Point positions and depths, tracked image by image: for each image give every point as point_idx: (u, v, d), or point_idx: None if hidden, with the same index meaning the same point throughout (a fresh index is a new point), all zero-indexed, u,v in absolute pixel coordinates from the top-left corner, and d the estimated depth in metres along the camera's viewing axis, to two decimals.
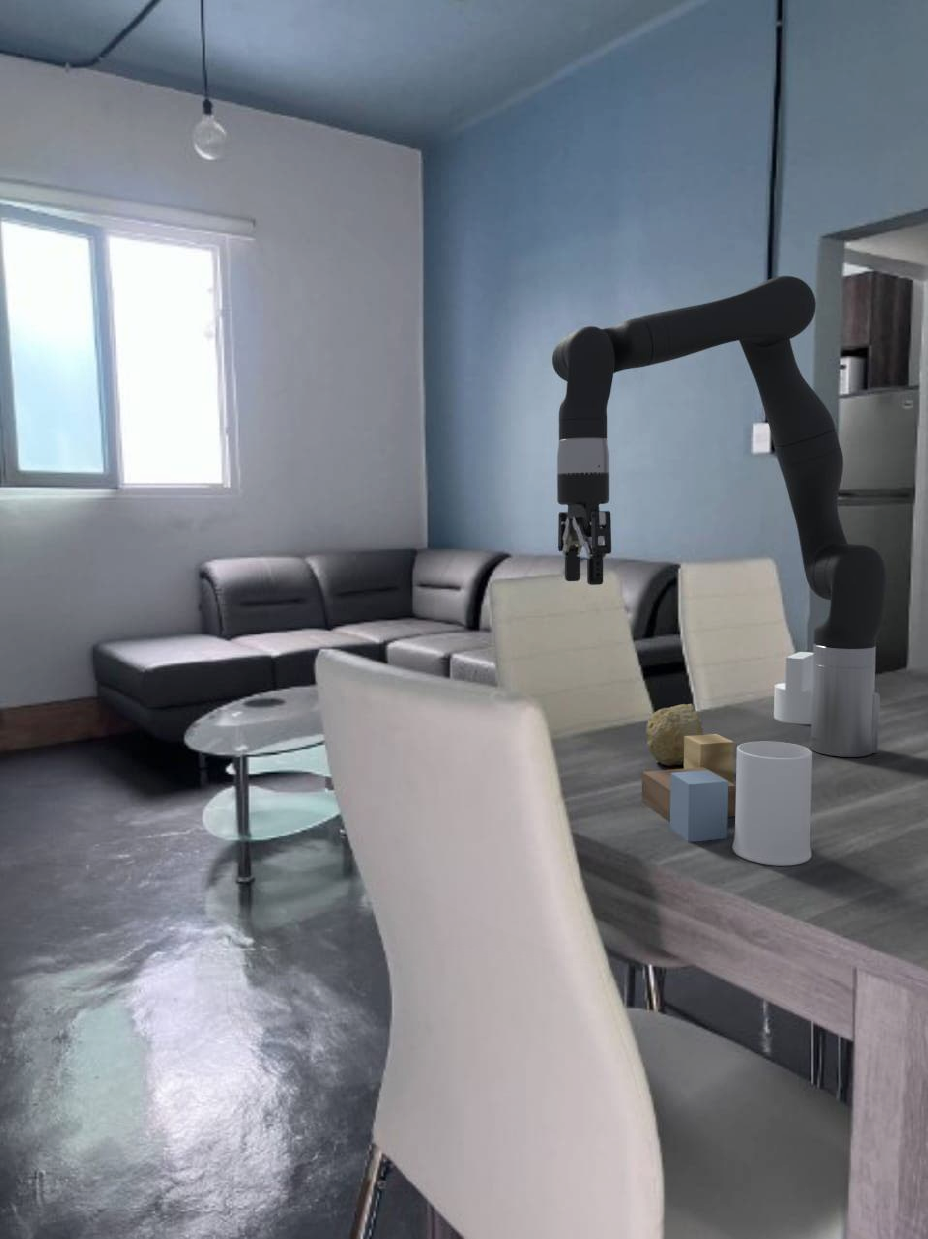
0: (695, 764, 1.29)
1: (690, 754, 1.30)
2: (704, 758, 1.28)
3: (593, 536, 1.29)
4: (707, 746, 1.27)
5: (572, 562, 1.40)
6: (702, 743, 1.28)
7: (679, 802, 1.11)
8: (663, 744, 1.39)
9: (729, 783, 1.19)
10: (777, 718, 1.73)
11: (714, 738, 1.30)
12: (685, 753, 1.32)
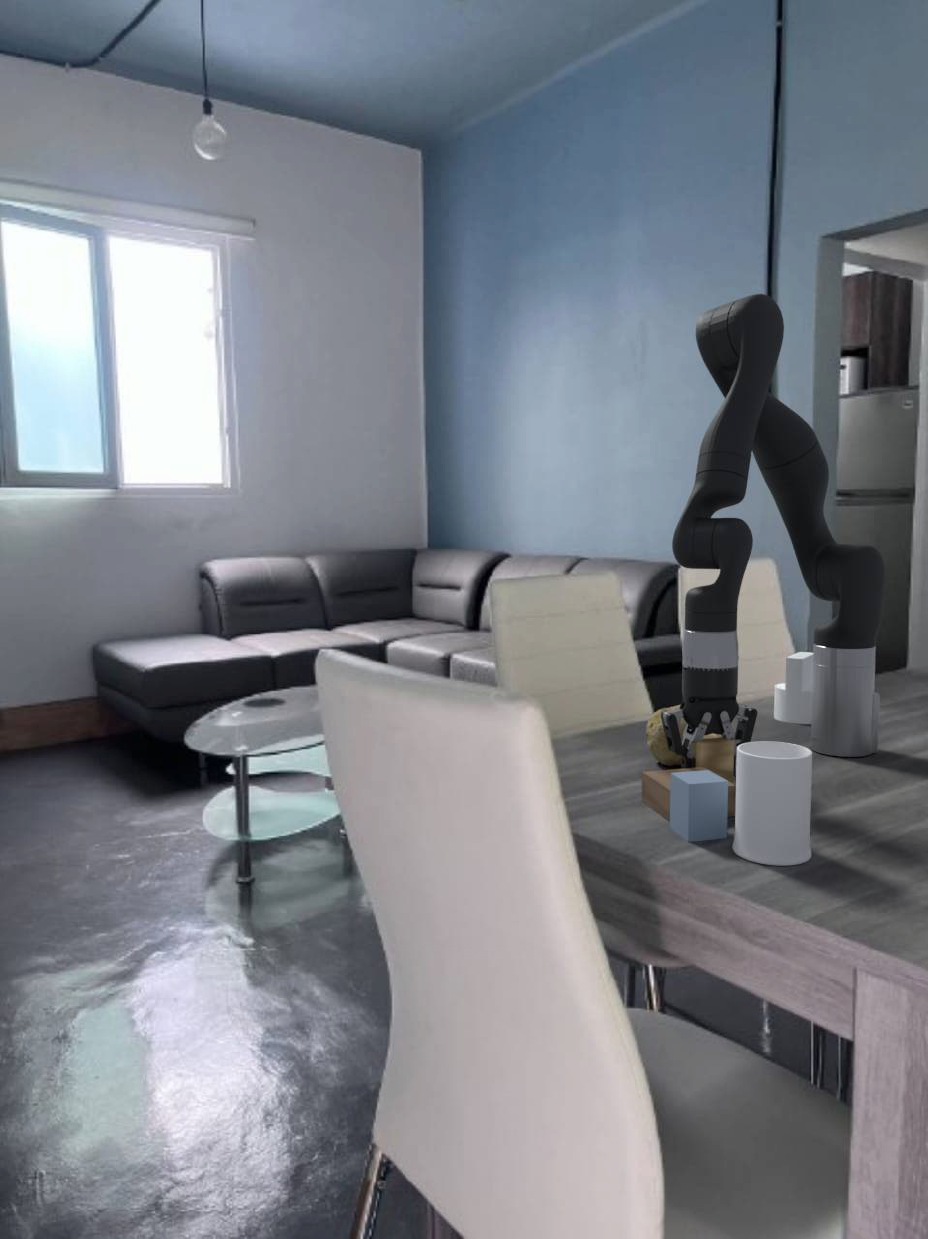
0: None
1: None
2: (704, 758, 1.28)
3: (749, 733, 1.30)
4: (707, 745, 1.27)
5: None
6: (702, 743, 1.28)
7: (679, 802, 1.11)
8: (663, 744, 1.39)
9: (729, 783, 1.19)
10: (777, 718, 1.73)
11: (714, 738, 1.30)
12: None
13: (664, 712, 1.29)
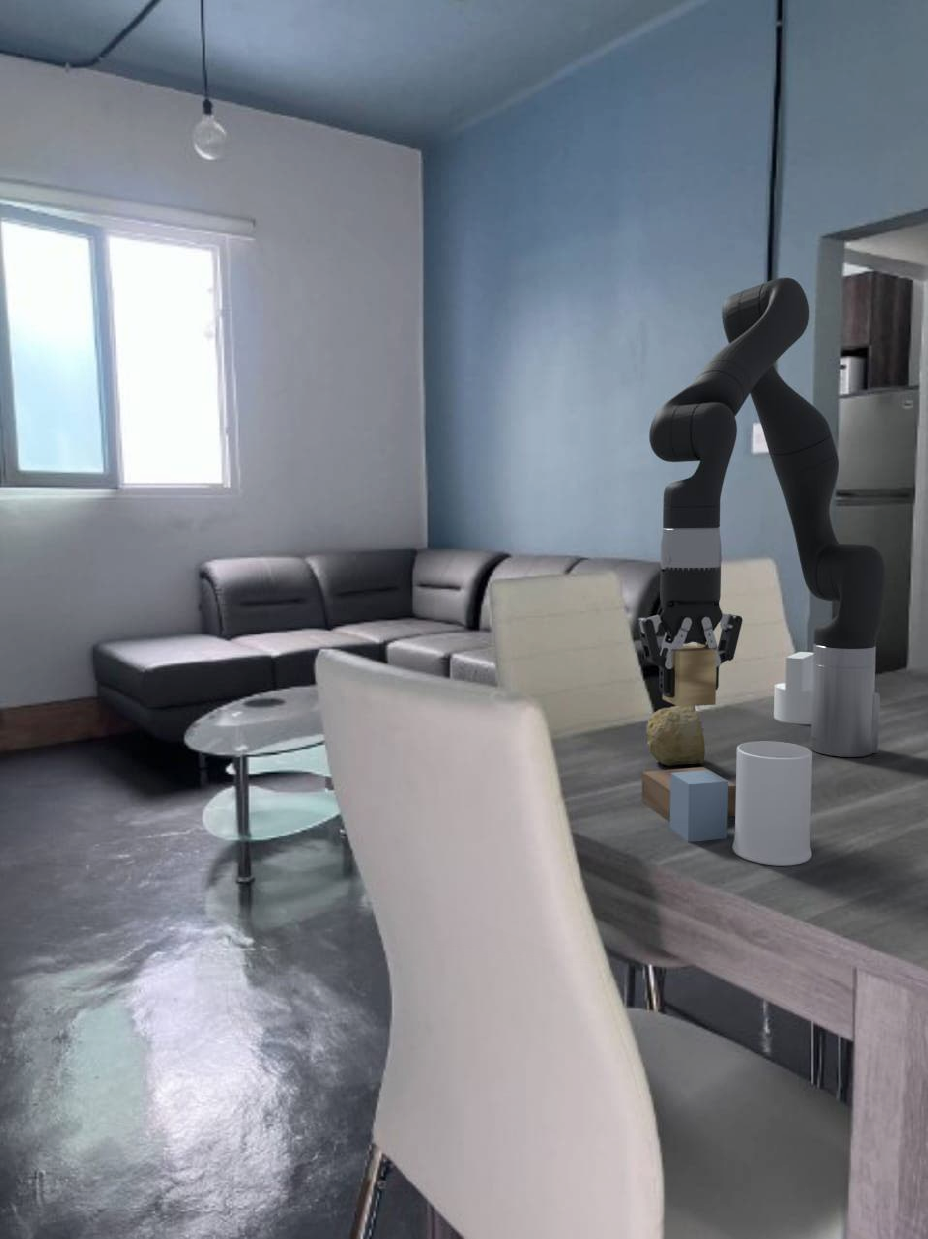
0: None
1: None
2: (684, 667, 1.17)
3: (733, 642, 1.19)
4: (687, 654, 1.17)
5: None
6: (682, 651, 1.17)
7: (679, 802, 1.11)
8: (663, 744, 1.39)
9: (729, 783, 1.19)
10: (777, 718, 1.73)
11: (695, 648, 1.20)
12: None
13: (640, 618, 1.18)
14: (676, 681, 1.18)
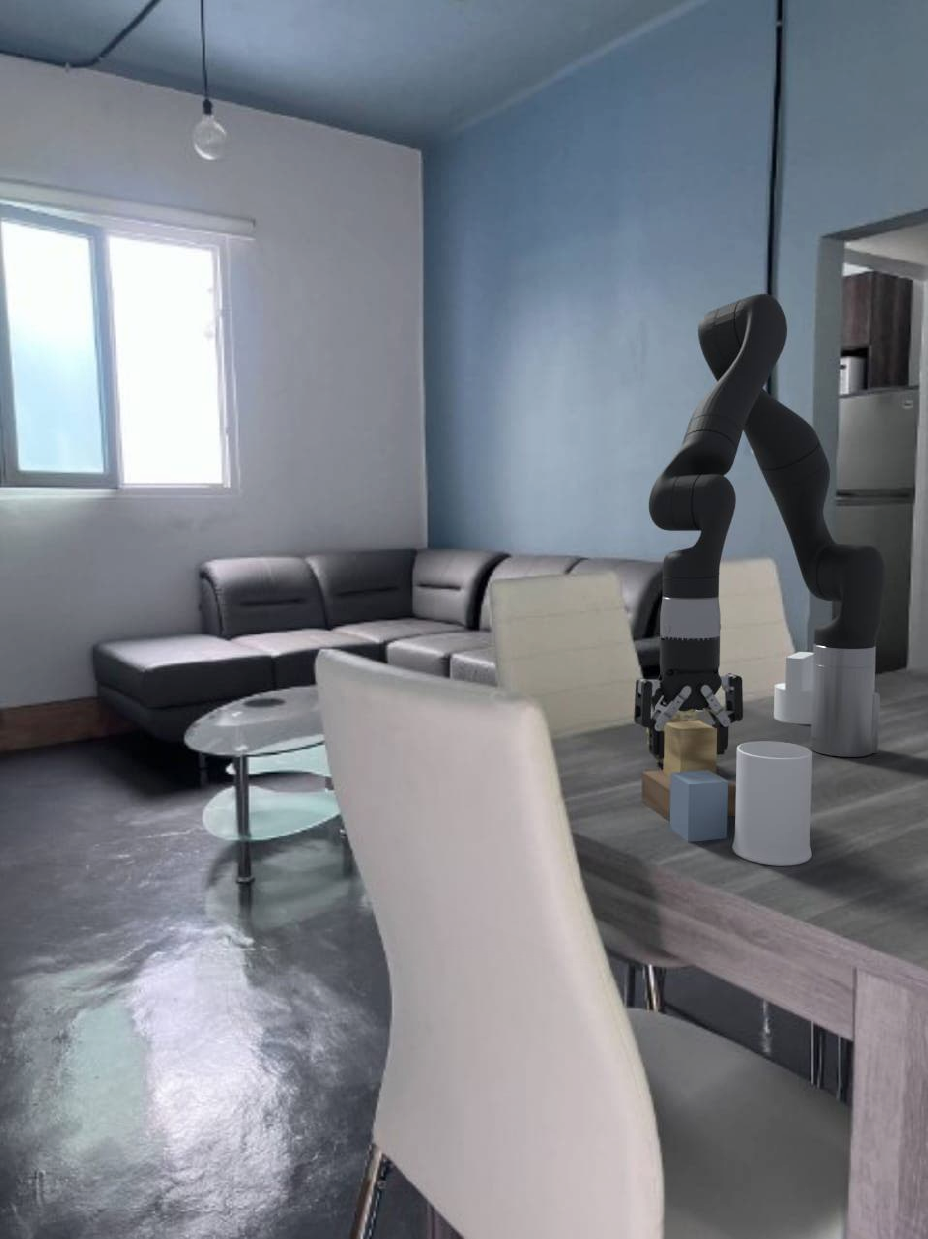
0: (675, 753, 1.19)
1: (670, 742, 1.21)
2: (685, 746, 1.18)
3: (739, 702, 1.20)
4: (688, 733, 1.18)
5: None
6: (683, 730, 1.18)
7: (679, 802, 1.11)
8: None
9: (729, 783, 1.19)
10: (777, 718, 1.73)
11: (696, 725, 1.21)
12: (665, 741, 1.22)
13: (641, 678, 1.19)
14: (677, 759, 1.19)
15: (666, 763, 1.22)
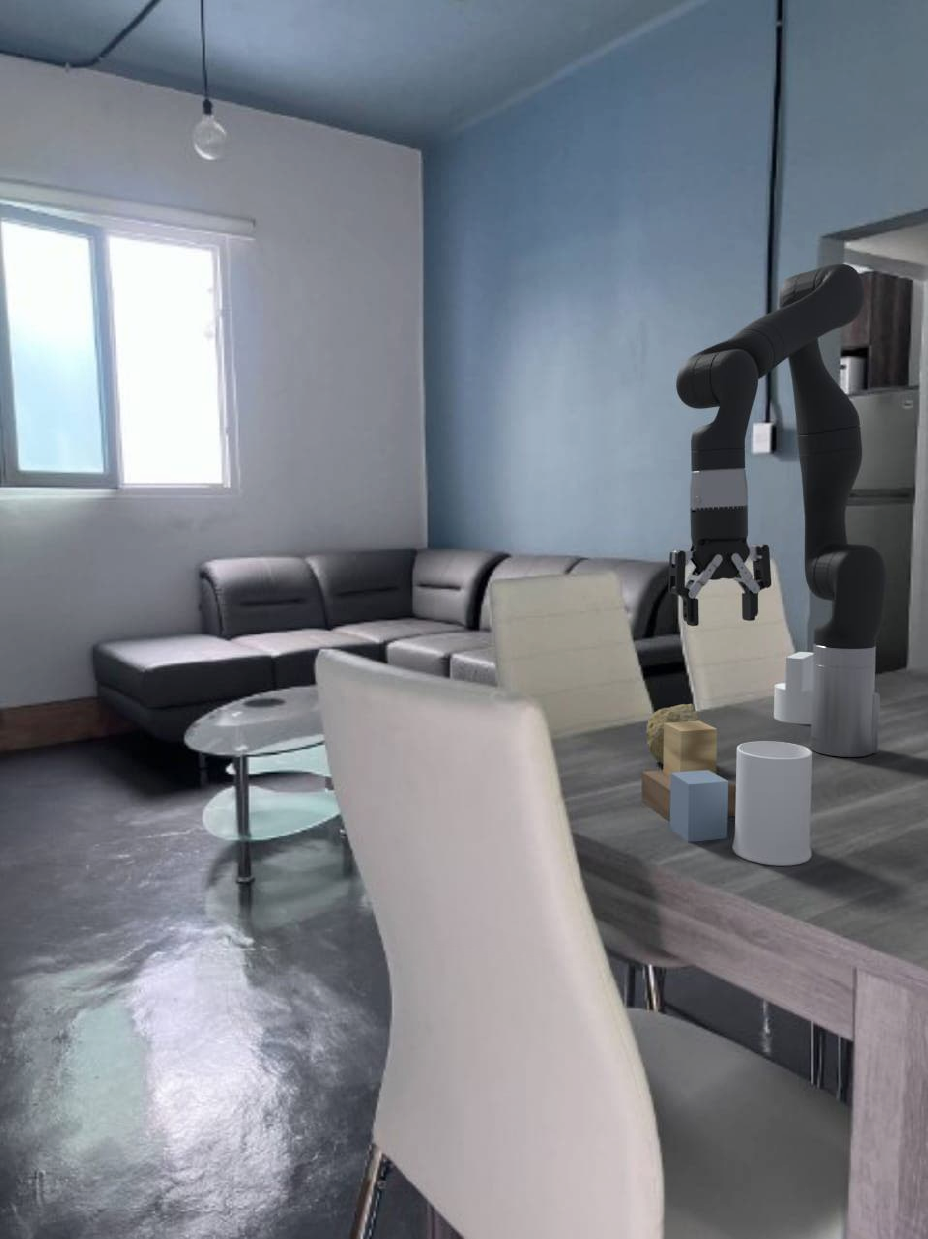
0: (675, 753, 1.19)
1: (670, 742, 1.21)
2: (685, 746, 1.18)
3: (767, 569, 1.27)
4: (688, 733, 1.18)
5: None
6: (683, 730, 1.18)
7: (679, 802, 1.11)
8: (663, 744, 1.39)
9: (729, 783, 1.19)
10: (777, 718, 1.73)
11: (696, 725, 1.21)
12: (665, 741, 1.22)
13: (674, 550, 1.25)
14: (677, 759, 1.19)
15: (666, 763, 1.22)
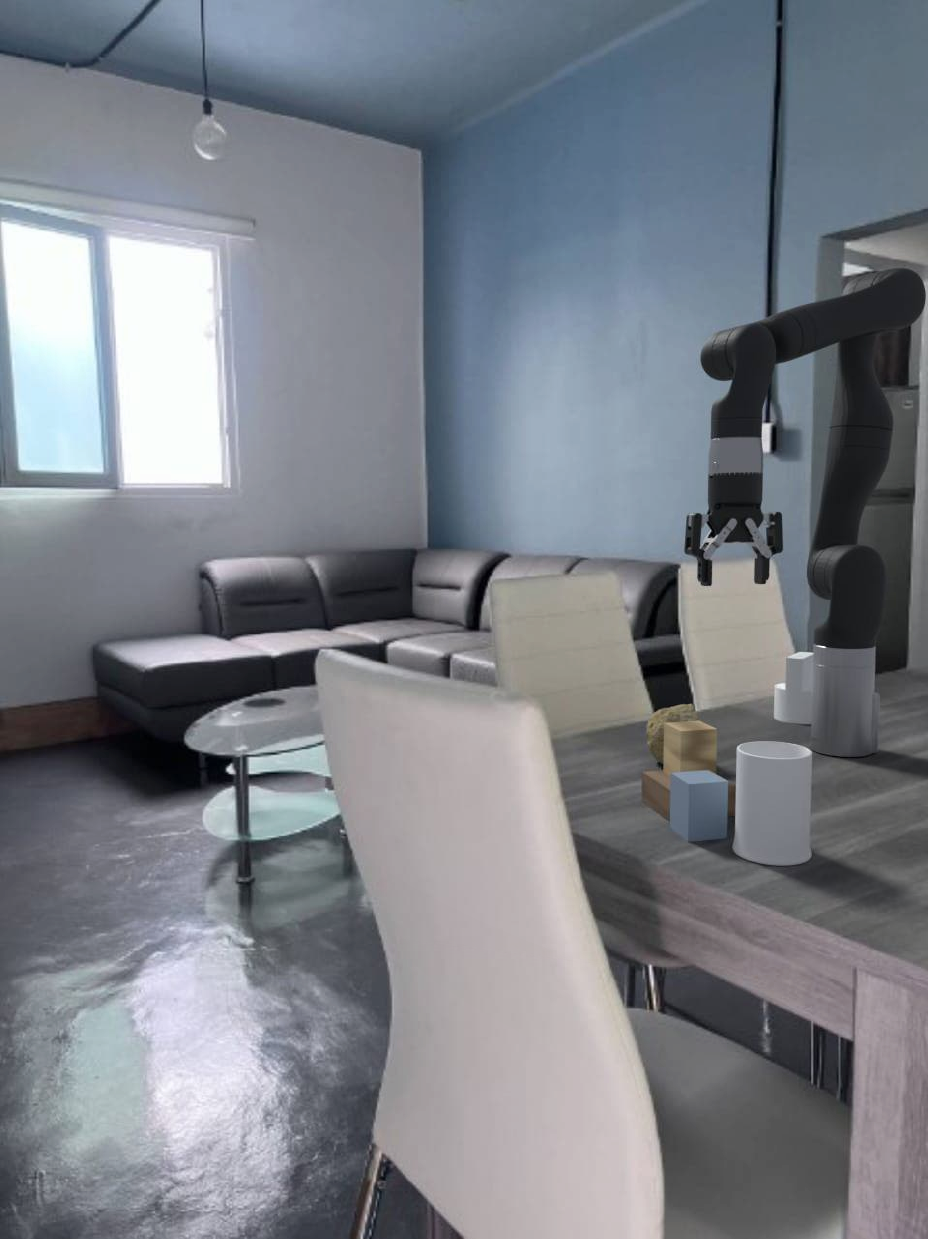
0: (675, 753, 1.19)
1: (670, 742, 1.21)
2: (685, 746, 1.18)
3: (779, 536, 1.33)
4: (688, 733, 1.18)
5: None
6: (683, 730, 1.18)
7: (679, 802, 1.11)
8: (663, 744, 1.39)
9: (729, 783, 1.19)
10: (777, 718, 1.73)
11: (696, 725, 1.21)
12: (665, 741, 1.22)
13: (691, 513, 1.32)
14: (677, 759, 1.19)
15: (666, 763, 1.22)
